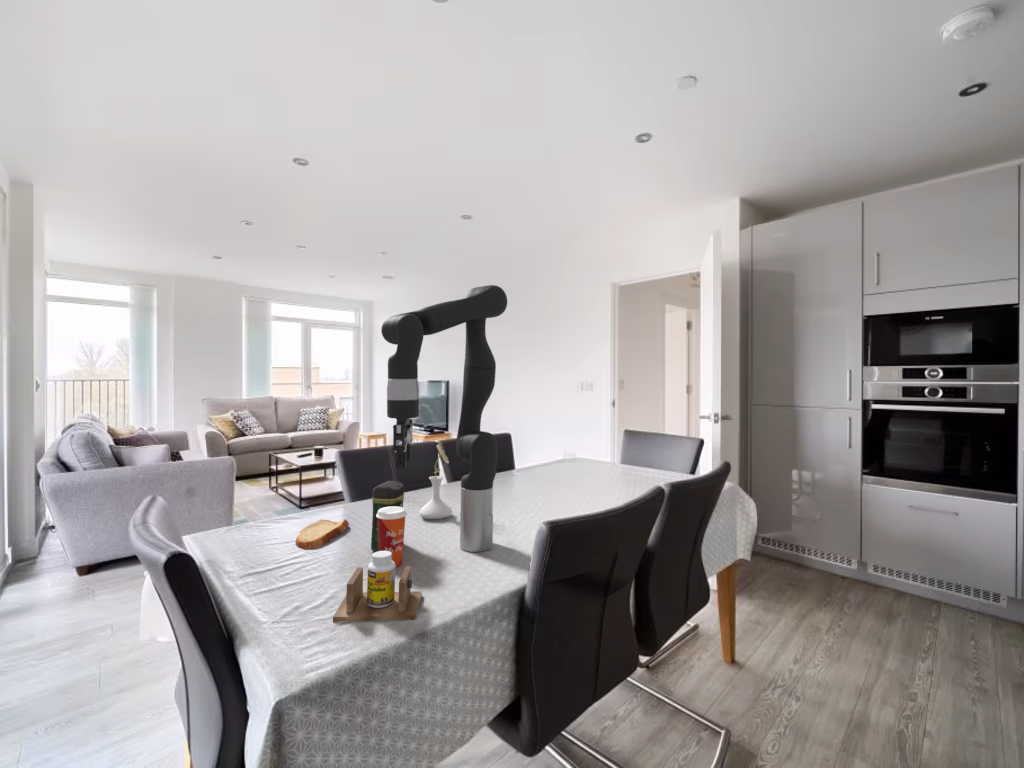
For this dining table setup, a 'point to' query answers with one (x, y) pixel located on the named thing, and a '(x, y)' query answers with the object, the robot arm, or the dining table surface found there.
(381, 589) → the supplement bottle
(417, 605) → the holder
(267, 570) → the dining table surface
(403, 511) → the paper cup
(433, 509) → the flower in vase
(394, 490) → the coffee jar
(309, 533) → the slice of bread
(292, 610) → the dining table surface
